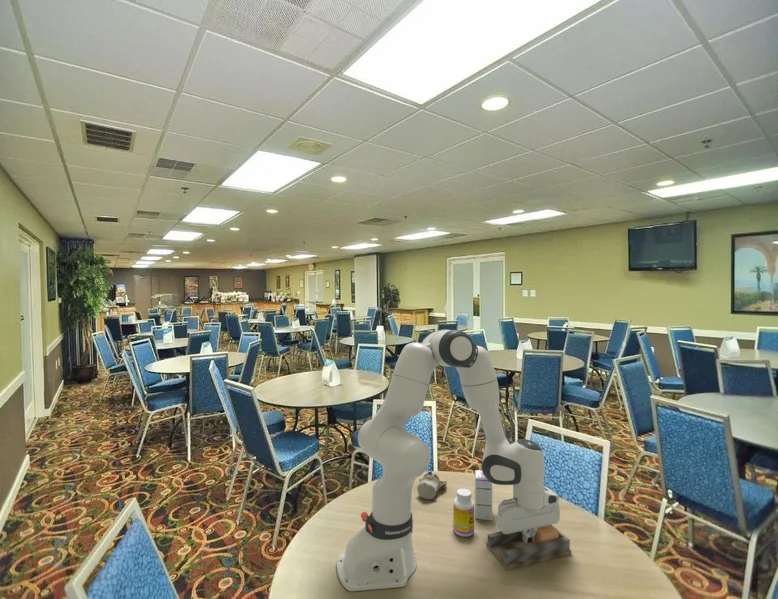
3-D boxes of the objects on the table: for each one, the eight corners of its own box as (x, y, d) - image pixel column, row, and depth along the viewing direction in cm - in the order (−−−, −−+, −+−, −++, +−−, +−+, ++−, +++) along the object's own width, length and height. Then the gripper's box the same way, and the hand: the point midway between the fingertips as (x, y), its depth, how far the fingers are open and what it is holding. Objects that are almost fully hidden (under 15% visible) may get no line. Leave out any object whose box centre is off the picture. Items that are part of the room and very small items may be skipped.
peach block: (541, 551, 114) (541, 534, 114) (528, 538, 120) (528, 522, 120) (558, 547, 116) (558, 530, 116) (544, 535, 121) (544, 519, 121)
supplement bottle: (470, 540, 121) (471, 499, 120) (450, 534, 124) (450, 494, 123) (476, 528, 126) (476, 489, 126) (456, 523, 130) (457, 485, 129)
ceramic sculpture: (411, 475, 144) (423, 462, 158) (410, 499, 144) (422, 483, 158) (439, 481, 140) (448, 467, 154) (438, 505, 140) (448, 489, 154)
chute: (507, 570, 107) (507, 556, 107) (486, 545, 118) (486, 532, 118) (571, 554, 114) (571, 540, 114) (545, 532, 125) (545, 520, 125)
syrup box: (492, 521, 131) (493, 478, 130) (474, 518, 132) (475, 476, 132) (491, 511, 136) (492, 470, 136) (474, 509, 138) (474, 469, 137)
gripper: (505, 507, 109) (504, 555, 110) (563, 495, 116) (563, 541, 116) (492, 495, 115) (492, 541, 116) (549, 485, 122) (548, 528, 122)
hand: (528, 541), depth 116 cm, fingers closed
